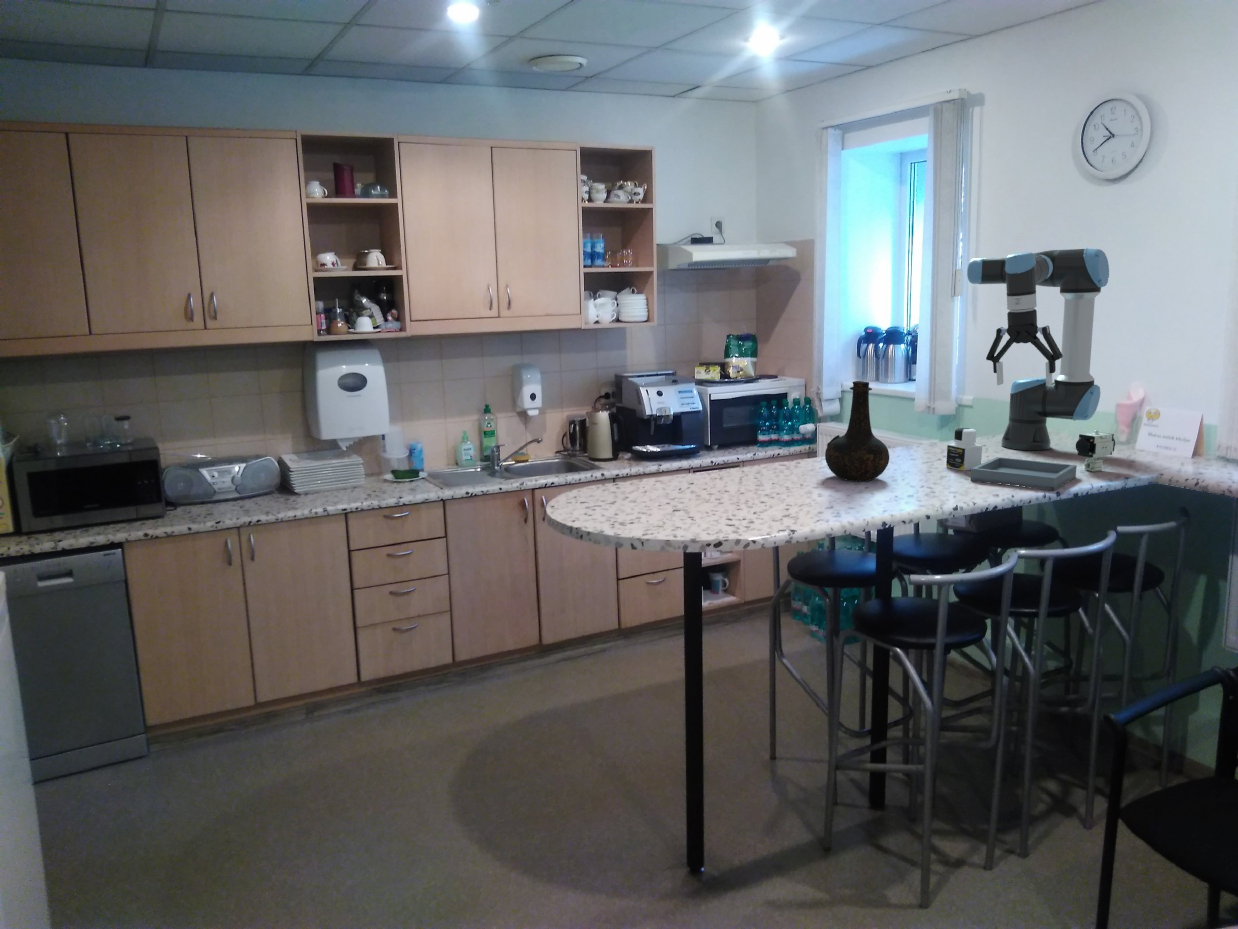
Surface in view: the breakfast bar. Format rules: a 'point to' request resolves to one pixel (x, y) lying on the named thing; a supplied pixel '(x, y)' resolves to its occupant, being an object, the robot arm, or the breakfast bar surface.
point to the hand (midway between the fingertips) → (1024, 384)
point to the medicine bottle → (964, 450)
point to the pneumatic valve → (1095, 448)
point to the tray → (1024, 473)
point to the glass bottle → (857, 443)
